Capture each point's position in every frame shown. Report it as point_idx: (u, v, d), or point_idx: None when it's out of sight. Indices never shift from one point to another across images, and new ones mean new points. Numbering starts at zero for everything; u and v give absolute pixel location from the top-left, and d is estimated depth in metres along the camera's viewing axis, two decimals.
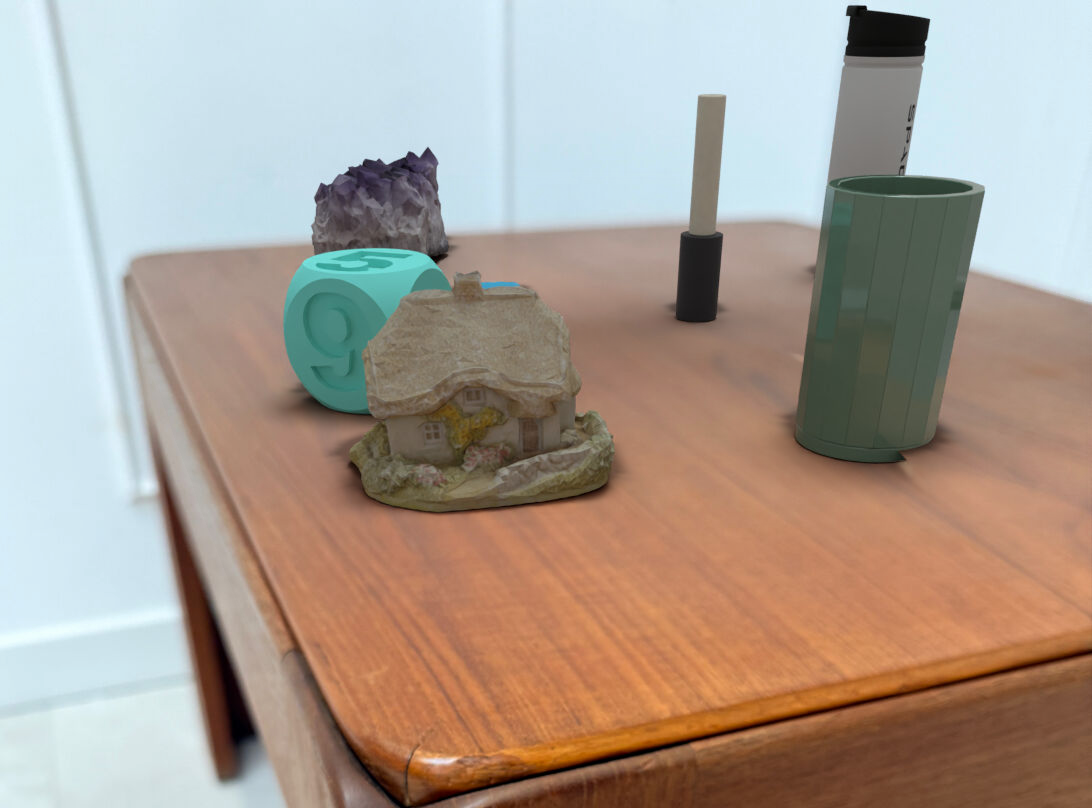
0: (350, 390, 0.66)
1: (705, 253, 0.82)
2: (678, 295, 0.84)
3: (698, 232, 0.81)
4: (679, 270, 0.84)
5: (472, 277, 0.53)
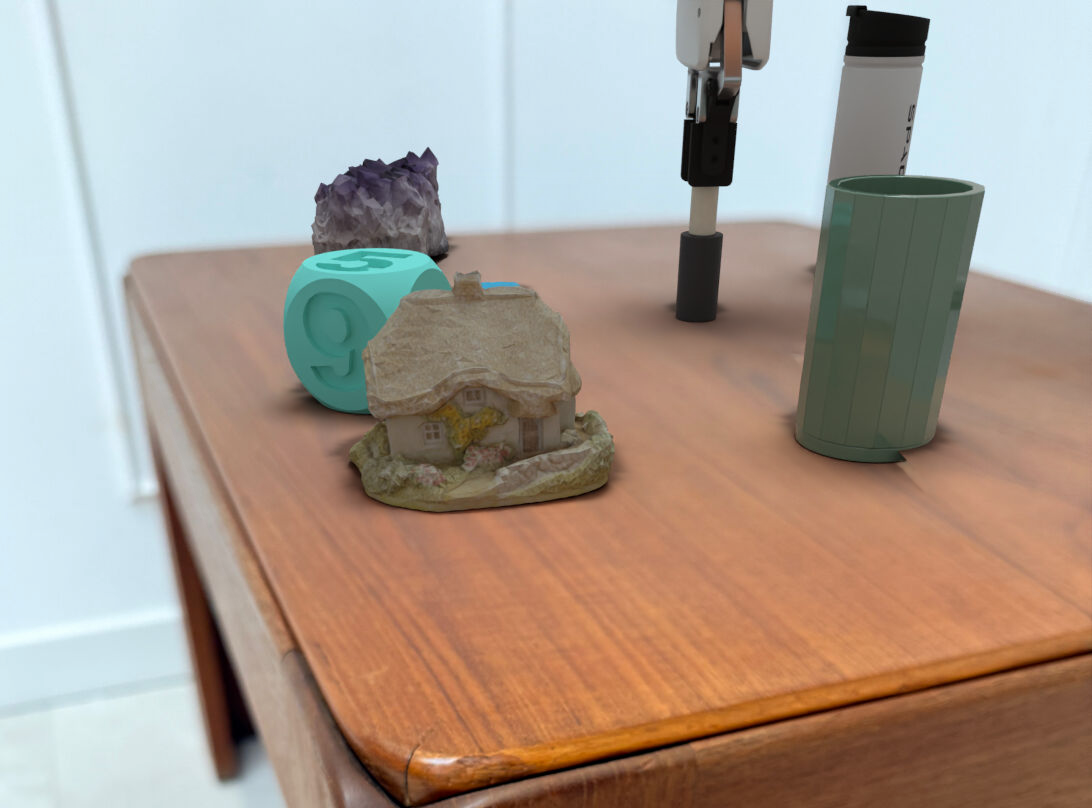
0: (350, 390, 0.66)
1: (705, 253, 0.82)
2: (678, 295, 0.84)
3: (698, 232, 0.81)
4: (679, 270, 0.84)
5: (472, 277, 0.53)
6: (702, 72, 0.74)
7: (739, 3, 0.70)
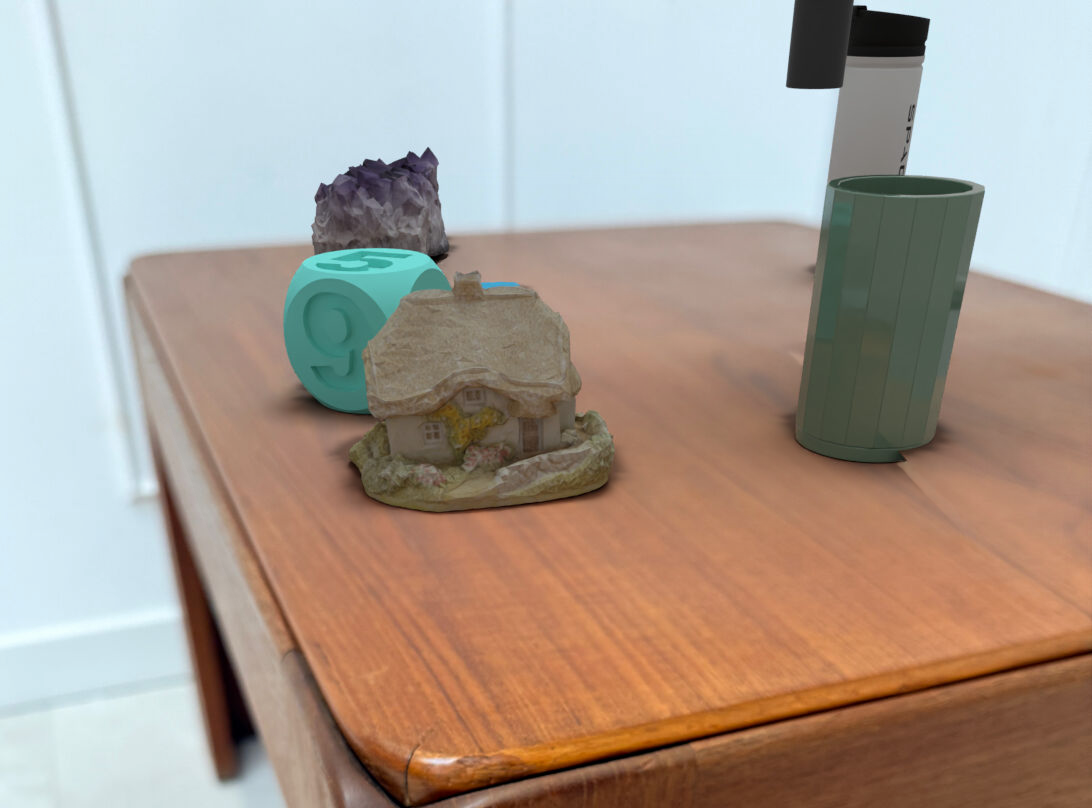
0: (350, 390, 0.66)
1: None
2: (792, 52, 0.61)
3: None
4: (795, 14, 0.61)
5: (472, 277, 0.53)
6: None
7: None
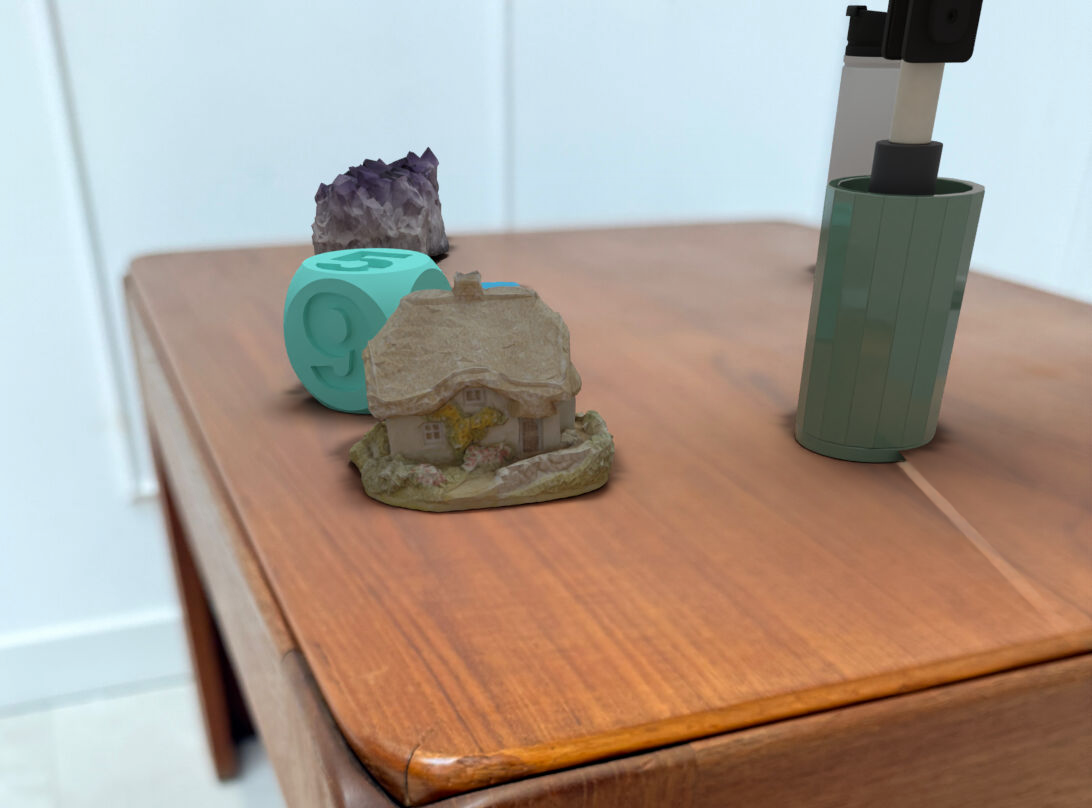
0: (350, 390, 0.66)
1: (917, 171, 0.53)
2: None
3: (907, 138, 0.53)
4: None
5: (472, 277, 0.53)
6: None
7: None
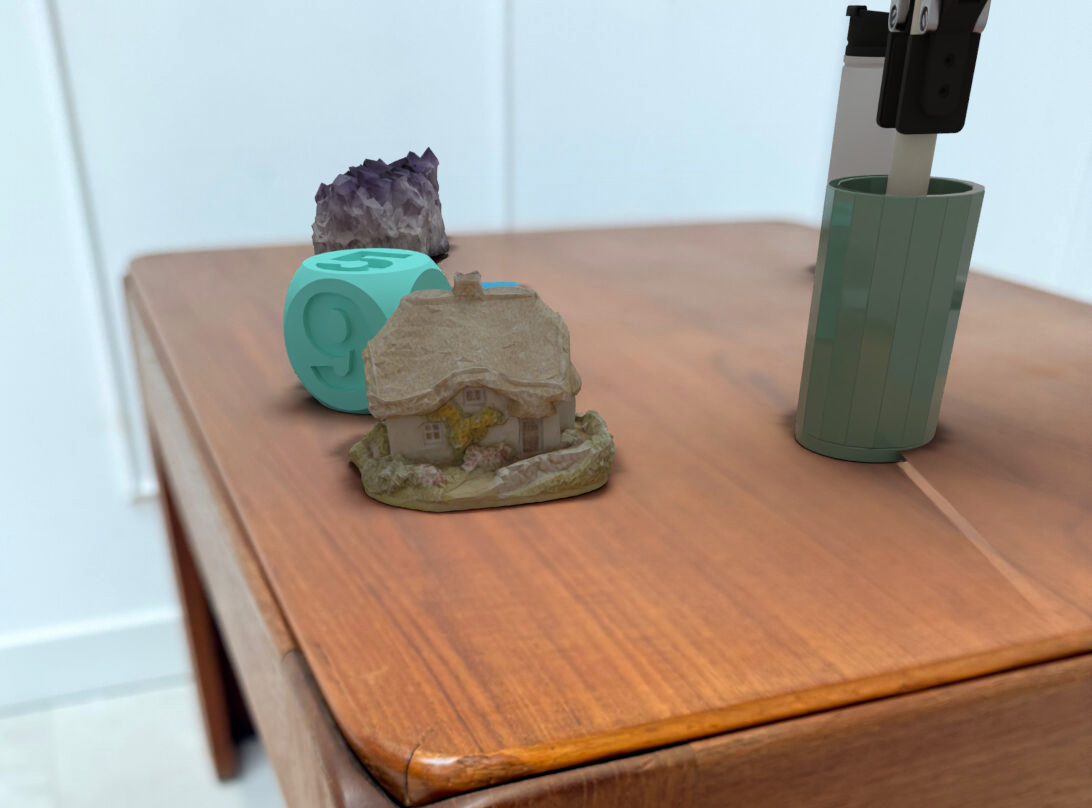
0: (350, 390, 0.66)
1: None
2: None
3: None
4: None
5: (472, 277, 0.53)
6: None
7: None
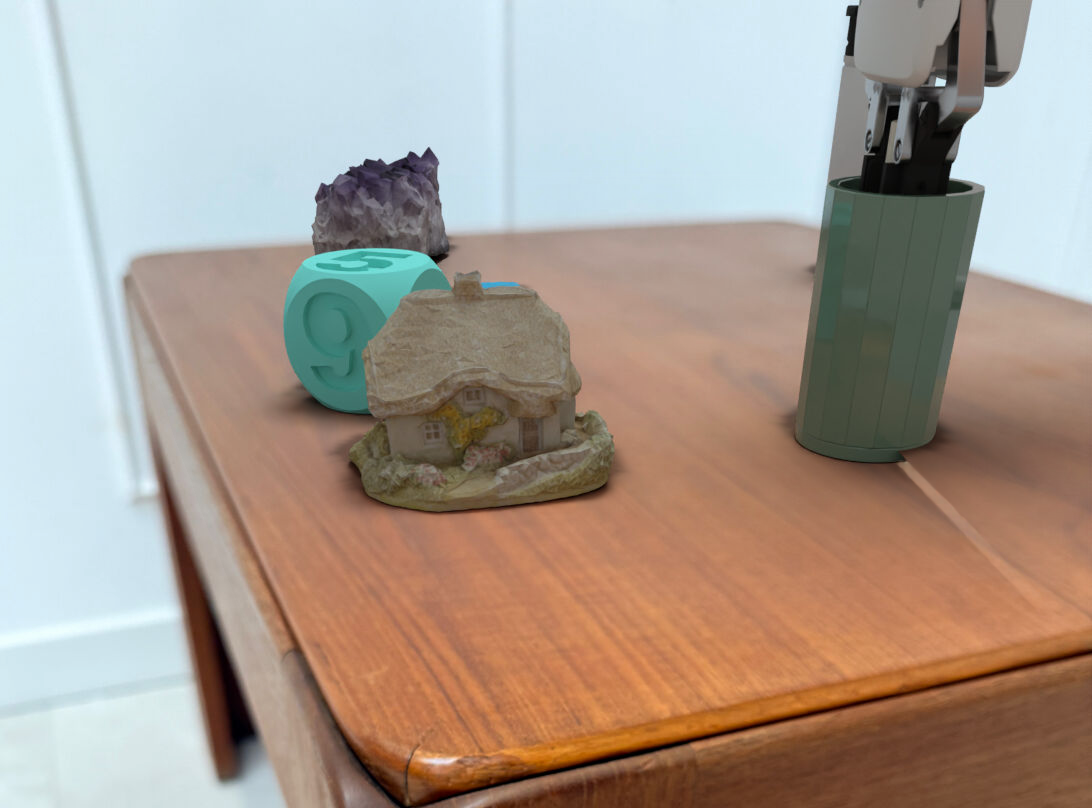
0: (350, 390, 0.66)
1: None
2: None
3: None
4: None
5: (472, 277, 0.53)
6: (911, 89, 0.50)
7: None
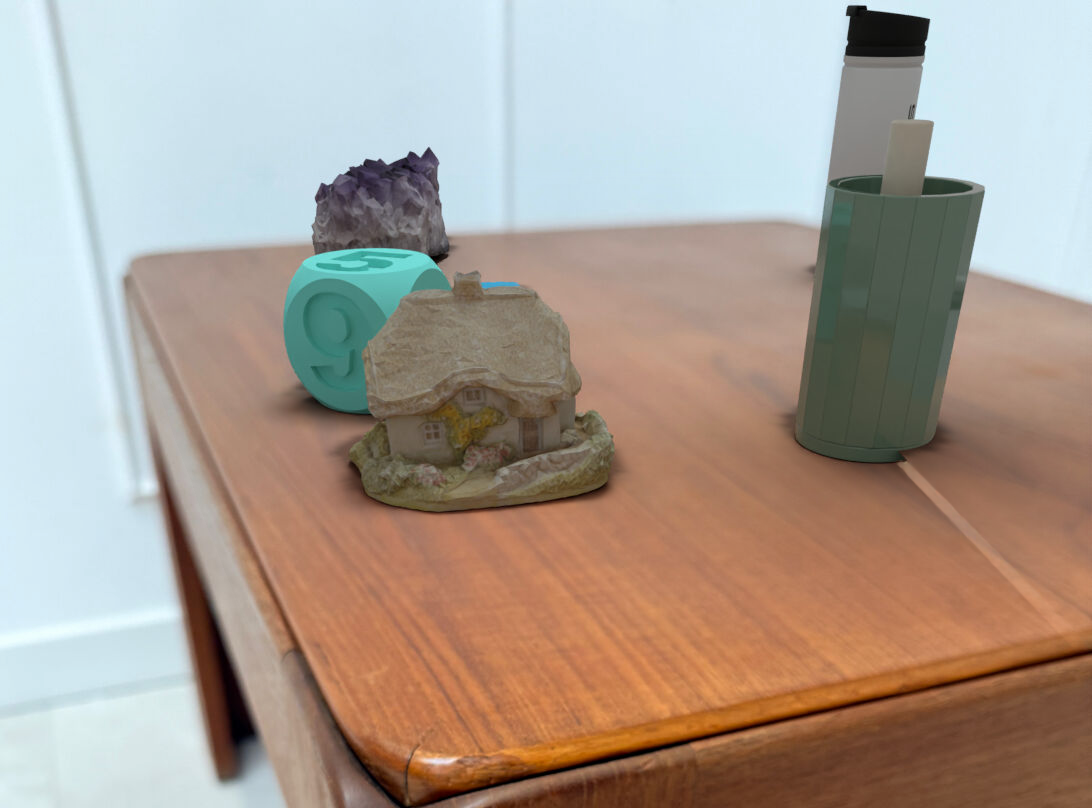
0: (350, 390, 0.66)
1: None
2: None
3: None
4: None
5: (472, 277, 0.53)
6: None
7: None
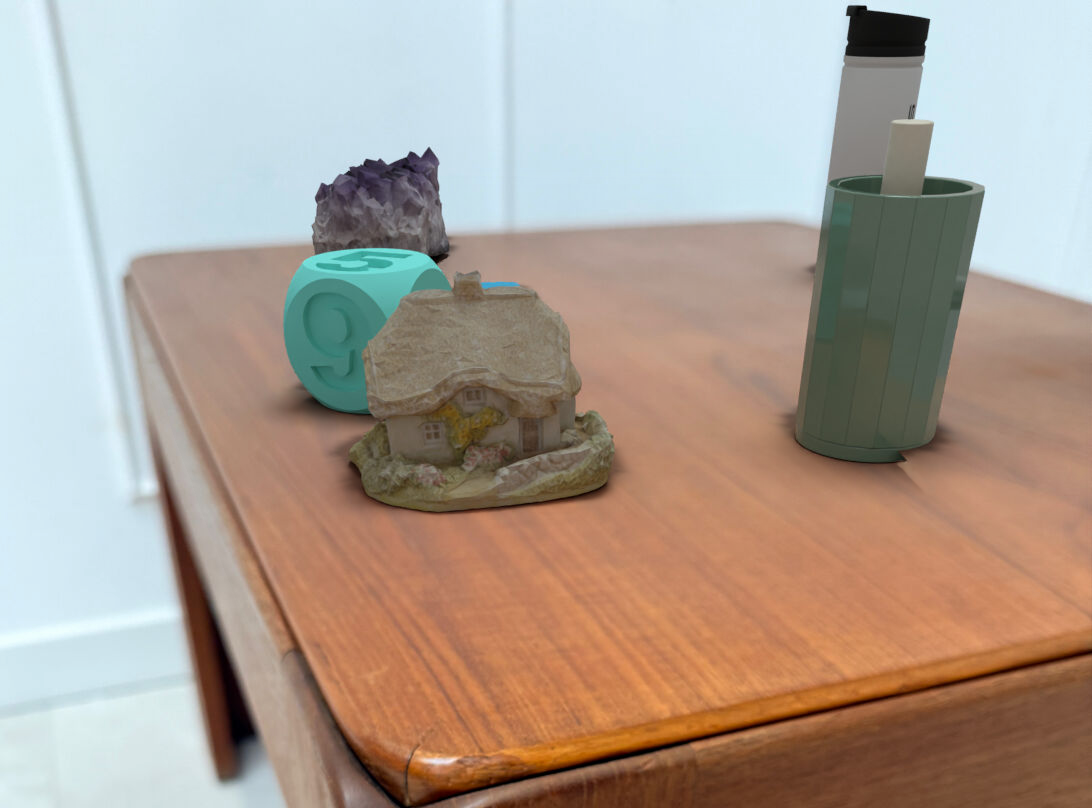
0: (350, 390, 0.66)
1: None
2: None
3: None
4: None
5: (472, 277, 0.53)
6: None
7: None
